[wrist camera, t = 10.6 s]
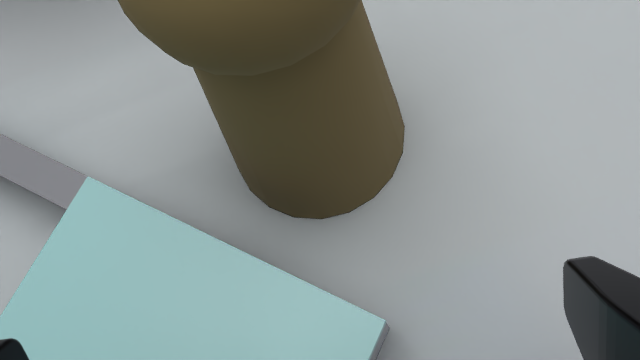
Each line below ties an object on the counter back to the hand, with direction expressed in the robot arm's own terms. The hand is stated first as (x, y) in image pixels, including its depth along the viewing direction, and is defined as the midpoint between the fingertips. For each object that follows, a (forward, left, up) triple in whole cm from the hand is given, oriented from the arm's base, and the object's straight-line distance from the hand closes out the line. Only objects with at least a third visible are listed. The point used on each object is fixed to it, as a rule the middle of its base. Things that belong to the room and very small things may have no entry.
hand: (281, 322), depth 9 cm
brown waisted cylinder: (+6, +4, -9) cm, 11 cm away
